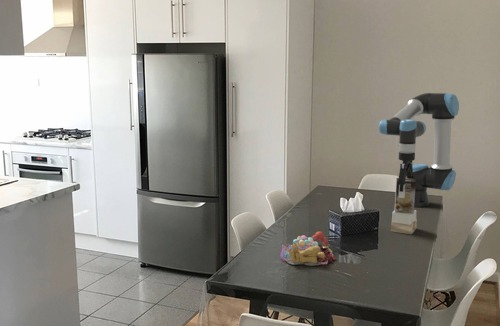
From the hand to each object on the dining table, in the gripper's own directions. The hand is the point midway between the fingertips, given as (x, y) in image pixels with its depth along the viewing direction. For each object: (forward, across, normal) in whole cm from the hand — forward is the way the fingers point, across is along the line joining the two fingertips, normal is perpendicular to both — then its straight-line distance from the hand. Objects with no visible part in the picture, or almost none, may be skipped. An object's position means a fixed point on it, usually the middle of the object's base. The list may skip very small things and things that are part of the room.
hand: (405, 194), depth 259 cm
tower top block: (+14, 0, 0) cm, 14 cm away
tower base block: (+19, 0, 0) cm, 19 cm away
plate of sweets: (+18, +55, -28) cm, 64 cm away
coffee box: (+9, 0, 0) cm, 9 cm away
